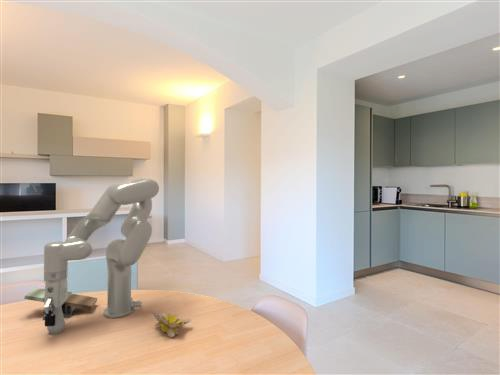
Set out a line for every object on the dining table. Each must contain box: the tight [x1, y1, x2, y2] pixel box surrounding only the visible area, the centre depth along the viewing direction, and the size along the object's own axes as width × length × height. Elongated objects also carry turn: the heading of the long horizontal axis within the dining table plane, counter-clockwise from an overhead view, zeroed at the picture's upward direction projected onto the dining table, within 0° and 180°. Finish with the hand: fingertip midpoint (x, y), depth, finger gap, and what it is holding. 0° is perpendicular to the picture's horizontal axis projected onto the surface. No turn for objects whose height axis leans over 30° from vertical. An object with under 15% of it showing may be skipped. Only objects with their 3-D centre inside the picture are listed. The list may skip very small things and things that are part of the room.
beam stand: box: [41, 291, 78, 321], centre depth 129 cm, size 10×14×6 cm
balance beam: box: [23, 287, 98, 311], centre depth 129 cm, size 26×9×2 cm, turn 104°
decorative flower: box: [150, 311, 192, 338], centre depth 114 cm, size 15×11×10 cm
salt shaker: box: [46, 305, 66, 335], centre depth 112 cm, size 6×6×13 cm
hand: (55, 319), depth 112 cm, fingers open, 9 cm apart
